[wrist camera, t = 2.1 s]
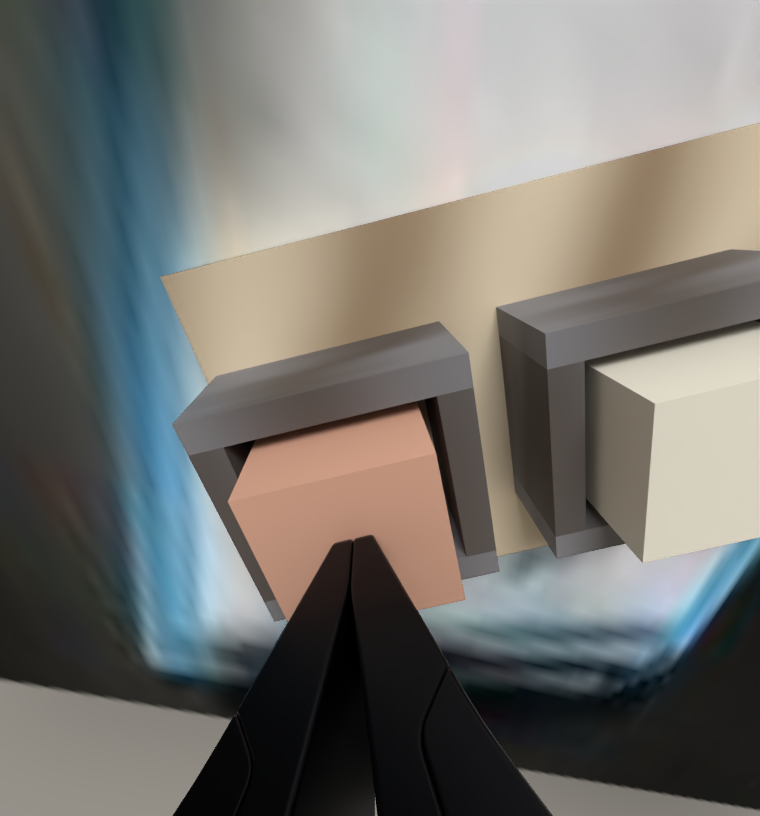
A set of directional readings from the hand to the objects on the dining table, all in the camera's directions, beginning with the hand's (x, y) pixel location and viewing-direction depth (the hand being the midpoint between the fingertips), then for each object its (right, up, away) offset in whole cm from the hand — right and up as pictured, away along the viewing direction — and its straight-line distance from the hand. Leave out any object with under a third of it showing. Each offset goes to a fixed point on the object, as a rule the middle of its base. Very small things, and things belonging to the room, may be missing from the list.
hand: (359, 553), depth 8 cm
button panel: (+7, +4, +5) cm, 10 cm away
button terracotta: (0, +1, +3) cm, 3 cm away
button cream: (+8, +3, +2) cm, 8 cm away
